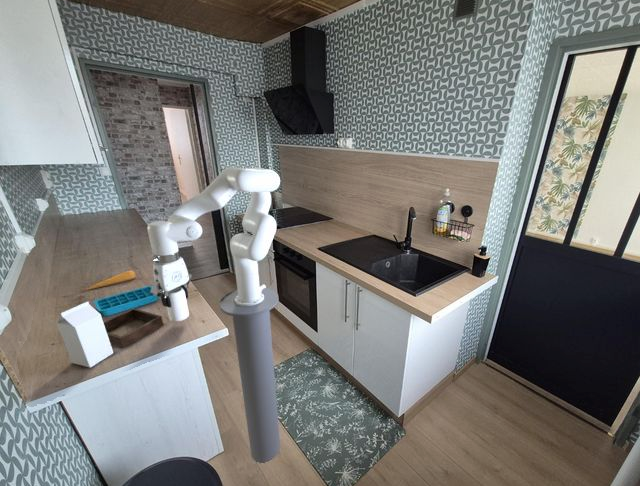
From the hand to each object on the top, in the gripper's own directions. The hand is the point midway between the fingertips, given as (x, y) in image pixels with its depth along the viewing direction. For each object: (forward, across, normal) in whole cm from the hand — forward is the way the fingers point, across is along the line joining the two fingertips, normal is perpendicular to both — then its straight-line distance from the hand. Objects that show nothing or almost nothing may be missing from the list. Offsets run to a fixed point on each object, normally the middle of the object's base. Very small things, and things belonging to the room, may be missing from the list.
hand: (176, 301), depth 108 cm
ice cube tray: (+11, +3, +32) cm, 34 cm away
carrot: (+11, +12, +57) cm, 59 cm away
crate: (+10, -10, +13) cm, 19 cm away
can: (+7, 0, 0) cm, 7 cm away
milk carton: (+11, -24, +9) cm, 28 cm away
